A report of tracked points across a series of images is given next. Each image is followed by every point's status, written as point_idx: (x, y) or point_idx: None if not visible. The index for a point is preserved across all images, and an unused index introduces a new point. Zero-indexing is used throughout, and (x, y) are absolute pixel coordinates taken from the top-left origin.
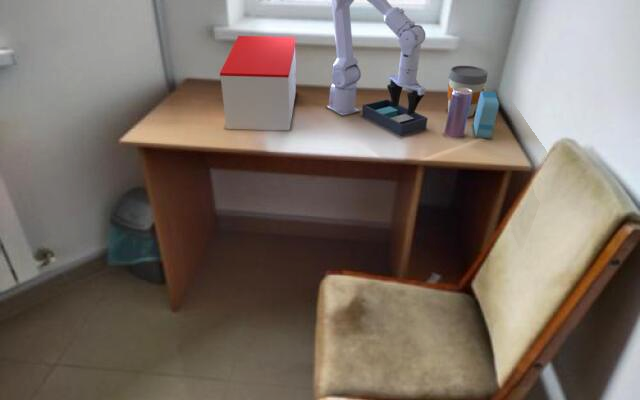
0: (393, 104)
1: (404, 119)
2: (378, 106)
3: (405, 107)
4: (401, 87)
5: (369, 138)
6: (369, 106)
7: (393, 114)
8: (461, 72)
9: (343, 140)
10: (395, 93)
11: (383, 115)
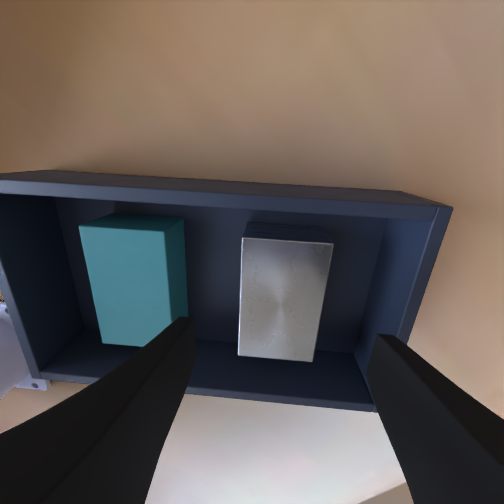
0: (190, 375)
1: (306, 309)
2: (36, 259)
3: (183, 193)
4: (76, 496)
5: (277, 430)
6: (43, 333)
7: (176, 261)
8: None
9: (236, 483)
10: (140, 474)
11: (217, 395)
